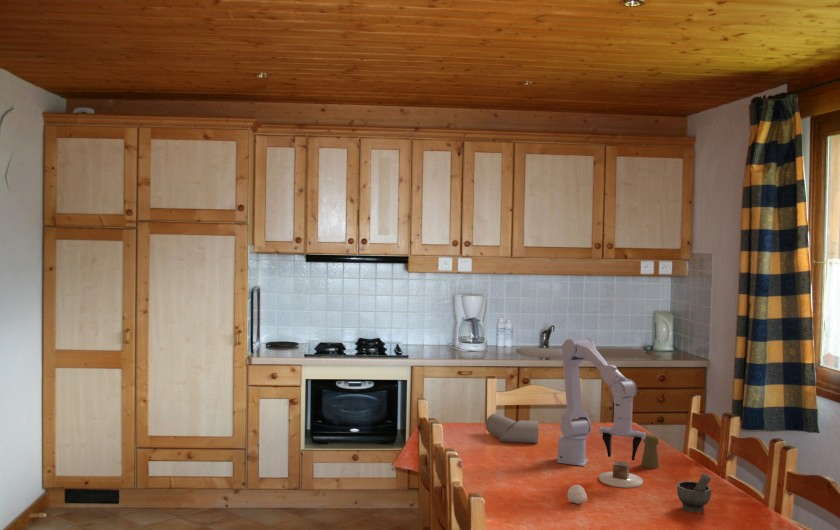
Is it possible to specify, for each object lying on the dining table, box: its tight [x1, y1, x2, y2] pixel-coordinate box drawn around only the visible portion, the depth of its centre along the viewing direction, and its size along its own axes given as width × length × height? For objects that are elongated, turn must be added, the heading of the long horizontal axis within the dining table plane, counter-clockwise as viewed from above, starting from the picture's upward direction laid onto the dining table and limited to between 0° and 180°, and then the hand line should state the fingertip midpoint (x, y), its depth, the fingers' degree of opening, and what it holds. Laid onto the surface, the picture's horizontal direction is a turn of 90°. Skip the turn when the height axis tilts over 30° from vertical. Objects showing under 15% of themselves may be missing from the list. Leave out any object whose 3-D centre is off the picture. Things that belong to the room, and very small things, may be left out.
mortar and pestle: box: [676, 473, 712, 513], centre depth 230 cm, size 11×9×12 cm
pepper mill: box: [641, 434, 660, 470], centre depth 273 cm, size 6×6×11 cm
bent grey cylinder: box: [485, 413, 539, 444], centre depth 305 cm, size 18×11×20 cm
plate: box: [598, 471, 644, 489], centre depth 256 cm, size 14×14×1 cm
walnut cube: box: [612, 460, 630, 480], centre depth 256 cm, size 4×4×4 cm
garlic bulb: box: [567, 484, 588, 505], centre depth 232 cm, size 6×6×5 cm
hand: (621, 457), depth 256 cm, fingers open, 7 cm apart
